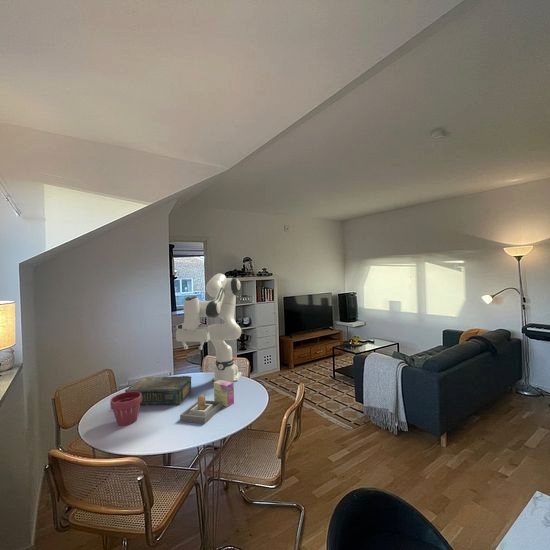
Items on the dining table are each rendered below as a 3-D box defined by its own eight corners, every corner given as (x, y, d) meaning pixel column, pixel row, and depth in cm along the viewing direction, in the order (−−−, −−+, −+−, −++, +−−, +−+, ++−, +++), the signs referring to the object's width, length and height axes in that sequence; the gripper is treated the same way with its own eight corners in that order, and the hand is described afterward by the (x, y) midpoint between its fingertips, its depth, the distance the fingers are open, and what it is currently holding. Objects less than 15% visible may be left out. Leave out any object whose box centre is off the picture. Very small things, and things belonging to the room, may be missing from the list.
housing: (199, 405, 162) (199, 398, 162) (221, 407, 158) (221, 400, 158) (180, 420, 145) (180, 413, 145) (205, 423, 141) (204, 416, 141)
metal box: (180, 406, 163) (179, 388, 163) (124, 407, 165) (123, 389, 165) (192, 391, 184) (192, 375, 184) (143, 392, 186) (142, 376, 186)
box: (234, 403, 163) (233, 382, 163) (227, 407, 158) (226, 385, 158) (221, 399, 169) (220, 379, 169) (214, 403, 164) (213, 382, 164)
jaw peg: (200, 409, 154) (199, 394, 154) (207, 410, 153) (206, 395, 153) (196, 413, 150) (195, 397, 150) (203, 414, 149) (202, 398, 149)
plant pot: (104, 428, 141) (103, 402, 141) (123, 414, 155) (122, 390, 155) (131, 429, 139) (130, 402, 139) (148, 415, 153) (147, 391, 153)
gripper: (211, 324, 164) (212, 348, 164) (180, 324, 170) (181, 347, 170) (205, 326, 158) (206, 351, 158) (173, 325, 164) (174, 350, 164)
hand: (193, 349), depth 164 cm, fingers open, 8 cm apart
